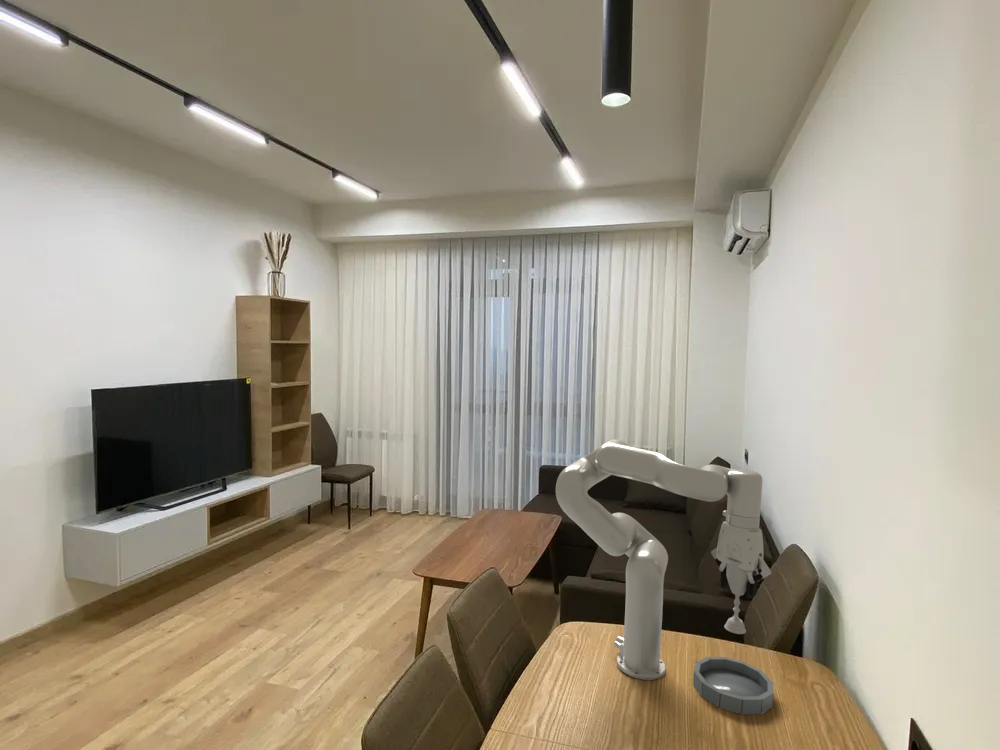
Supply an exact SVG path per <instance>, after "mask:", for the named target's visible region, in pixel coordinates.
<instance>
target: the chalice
mask: <svg viewBox="0 0 1000 750" xmlns="http://www.w3.org/2000/svg"><path fill="white" fill-rule="evenodd" d="M727 559H728V558H727ZM728 561H729V562H730V565H729V564H727V569H726V576H727V580H728V583H729V586H728V587H729V588H730V591H731V593H732V594H733V595H734V597H735V598H734V600H733V604H734V607H733V608H732V610H733V613H734V614H733V615H732V616H731V617H729V618H728V619H727V621H726V622H725V624H724V626H723V627H724V629H725V630H726V631H728V632H730V633H733V634H737V635H744V634H746V633H747V629H746V627H745V624H744V622H743V619H741V618H740V617H739V614H740V612H741V610H740V605H741V601H740V597H741V596H744V595H745V594H746V584H747V582H749V578H748V575H747V571H744V570H741V569H739V568H738V566H739V565H740V564H742V563H739V562H735V561H732V560H730V559H728Z"/></svg>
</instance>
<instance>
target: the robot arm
mask: <svg viewBox="0 0 1000 750" xmlns="http://www.w3.org/2000/svg"><path fill="white" fill-rule="evenodd" d="M610 476H616V477H620V478H623V479H624V478H625V479H629V480H632V481H637V482H641V483H645V484H649V485H653V486H655V487H657V488H659V489H663V490H665V491H666V492H671V493H673V494H676V495H679V496H683V497H686V498H691V499H695V500H699V501H702V502H703V501H704V502H717V501H720V500H722V499H723V498H724V497H725V496H727V505H726V510H723V511H722V514H721V515H722V516H724V517H725V521H722V524H721V526H720V531H719V534H718V540H717V546H716V547H715V548H714V549H713V550H710V551H711V552H710V554H711V556H712V557H713V559H715V563H716V564H717V566H718V569H719V571H720V588H722V589H725V588H727V587H730V586H729V583H728V580H727V576H726V569H727V564H729V565H730V562H729V561H728V559H730V560H732V561H735V562H739V563H742V564H740V565H739V566H738V568H739V569H741V570H744V571H747V575H748V578H749V582H747V584H746V591H745V598H746V599H748V600H749V599H753V598H755V597H756V595H757V593H758V591H757V590H758V582H760V581H761V580H763V579H765V578H766V577H768V576H769V575H771V574H772V571H771V569H770V567H769V566H768V565H767V563H766V561H765V560H764V539H763V532H762V529H761V528H760V522H761V521H760V518H761V506H762V493H763V492H762V491H763V476H762V474H760V473H759V472H757V471H754V470H749V469H740V468H739V469H734V468H729V467H725V466H722V465H719V464H706V465H704V466H702V467H701V468H697V467H692V466H687V465H684V464H681V463H679V462H675V461H673V460H671V459H670V458H668V457H667V456H666V455H664V454H662V453H660V452H657V451H653V450H648V449H643V448H639V447H633V446H630V445H629V444H627V443H626V442H625V441H624V440H621V439H610V440H608V441H606V442H604V443H603V444H601V445H600V446H599V447H598V448H596V449H595V450H593V451H591V452H589V453H588V454H586V455H584V456H582V457H581V458H579V459H578V460H576V461H574V462H572V463H571V464H570V465H568V466H566V467H565V468H563V469H562V470H561V472H560V473H559V475H558V477H557V479H556V484H555V496H556V500H557V503H558V505H559V507H560V508H561V510H562V511H563V513H564V514H565V515H566V516H568V518H569V519H571V520H572V521H573V522H574V523H575V524H576V525H577V526H579V528H581V530H582V531H584V533H586V535H587V536H588V537H589V538H590V539H592V540H593V541H594V542H595V543H596V544H597V545H598V546H599V548H600V549H602V550H603V551H604V552H605V553H607V554H608V555H610V556H613V557H621V556H622V555H626V556H627V557H628V561H627V563H626V567H625V605H624V606H625V609H624V610H625V611H624V627H623V628H624V630H623V631H624V632H623V636H621V635H618V636H617V637H616V639H615V640H616V641H614V642H613V646H614V647H616V648H617V649H619V654H618V655H617V657H616V666H617V667H618V668H619V670H620V671H621V672H623V673H624V674H625V675H628V676H630V677H632V678H634V679H639V680H644V681H645V680H646V681H651V680H652V681H653V680H657V679H660V678H662V677H663V676H664V675H665V674H666V664H665V662H664V661H663V660H662V658H661V644H662V625H663V624H662V623H663V606H664V582H665V575H666V574H665V573H666V571H667V566H668V561H669V554H668V552H667V550H666V547H665V546H664V545H663V544H662V543H661V542H660V541H659V540H658V538H656V537H655V536H654V535H653V534H652V533H651V532H649V531H648V530H647V529H646V528H645V527H644V526H643V525H642V524H641V523H640V522H639V521H638V520H636V519H635V518H633V517H632V516H631V515H629V514H626V513H624V512H614V513H613V512H612V513H611V512H610V511H608V510H607V508H605V507H604V506H603V505H602V504H601V503H600V502H598V501H597V500H596V499H594V498H593V497H591V496H590V495H589V494H588V491H589V490H590V489H591V488H592V487H593V486H595V485H596V484H598V483H600V482H602V481H603V480H605V479H607V478H608V477H610ZM727 558H728V559H727ZM758 570H761V572H760V573H759V571H758Z"/></svg>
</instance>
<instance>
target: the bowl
mask: <svg viewBox="0 0 1000 750" xmlns="http://www.w3.org/2000/svg"><path fill="white" fill-rule="evenodd" d="M693 670H694V671H693V682H692V683H693V684H692V685H693V687H694V688H695V689H696V691H697V693H698V694H699V693H700V694H699V695H700V697H702V698H703V699H704V698H705V699H704V700H706V699H707V700H706V701H707V702H709V701H710V702H709V703H711V702H712V703H713V705H714V704H715V705H714V706H715V707H717V706H718V708H719V709H722V708H723V709H722V710H725V709H726V711H728V710H729V712H732V711H733V713H735V712H737V713H736V714H739V713H740V714H739V715H762V714H761V713H763V712H764V713H766V712H767V711H769V710H771V709H773V705H774V704H773V703H774V681H772V680H771V679H770V678H769V677H768V675H767V674H766V673H765V672H763V671H762V670H760V669H759V668H756V667H755V666H754V665H751V664H749V663H747V662H745V661H743V660H739V659H736V658H735V659H734V658H730V657H727V656H706V657H704V658H702V659H699V660H697V661H696V662H695V665H694V669H693ZM712 703H711V704H712ZM770 708H771V709H770ZM765 711H766V712H765ZM741 713H742V714H741ZM764 713H763V714H764Z"/></svg>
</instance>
